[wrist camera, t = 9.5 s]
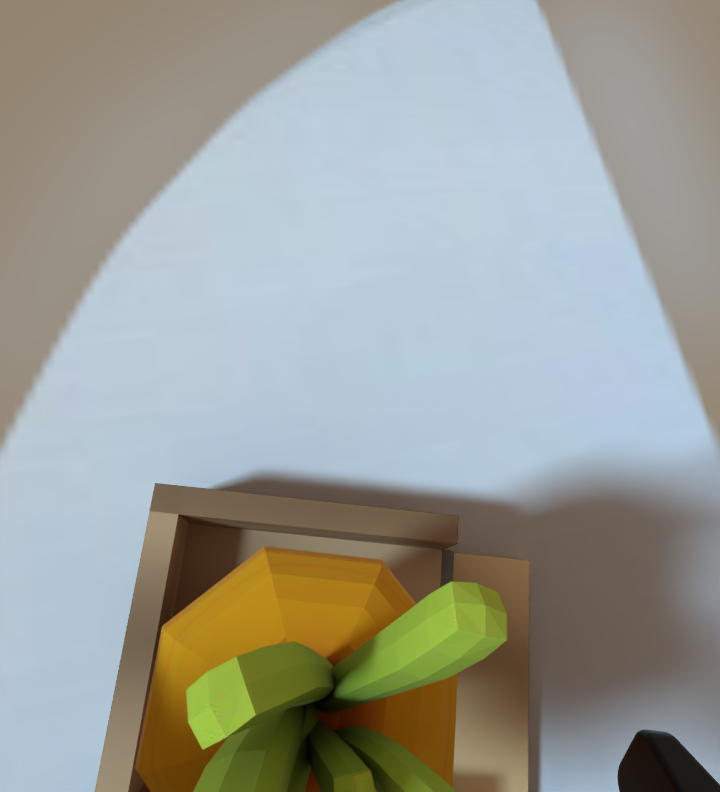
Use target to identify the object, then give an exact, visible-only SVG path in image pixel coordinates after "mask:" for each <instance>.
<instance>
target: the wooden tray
mask: <svg viewBox="0 0 720 792" xmlns="http://www.w3.org/2000/svg"><path fill="white" fill-rule="evenodd" d="M457 537H458V516H455V515H446V514H436V513H427V512H418V511H409V510H399V509H390V508H381V507H372V506H362V505H353V504H344V503H335V502H325V501H316V500H307V499H297V498H288V497H279V496H270V495H260V494H251V493H242V492H233V491H223V490H214V489H205V488H195V487H186V486H177V485H168V484H158V483H155V487H154V492H153V497H152V502H151V507H150V512H149V517H148V522H147V528H146V533H145V538H144V543H143V548H142V553H141V558H140V563H139V568H138V574H137V579H136V584H135V589H134V594H133V599H132V604H131V609H130V614H129V619H128V625H127V630H126V635H125V640H124V645H123V650H122V655H121V660H120V665H119V671H118V676H117V681H116V686H115V691H114V696H113V701H112V706H111V711H110V716H109V722H108V727H107V732H106V737H105V742H104V747H103V752H102V757H101V762H100V768H99V773H98V778H97V783H96V788H95V792H151V791H150V790H149V788H148V787H147V785H146V784H145V782H144V781H143V779H142V778H141V776H140V775H139V773H138V772H137V770H136V769H135V765H136V760H137V755H138V750H139V744H140V739H141V734H142V729H143V723H144V718H145V713H146V708H147V702H148V697H149V692H150V687H151V681H152V676H153V671H154V666H155V660H156V655H157V650H158V645H159V639H160V634H161V629H162V626H163V625H164V624H165V623H167V622H168V621H169V620H171V619H172V618H173V617H174V616H176V615H177V614H178V613H179V612H181V611H182V610H183V609H185V608H186V607H187V606H188V605H190V604H191V603H192V602H194V601H195V600H196V599H197V598H199V597H200V596H201V595H202V594H204V593H205V592H206V591H208V590H209V589H210V588H211V587H213V586H214V585H215V584H217V583H218V582H219V581H220V580H222V579H223V578H224V577H225V576H227V575H228V574H229V573H231V572H232V571H233V570H234V569H236V568H237V567H238V566H240V565H241V564H242V563H243V562H245V561H246V560H247V559H248V558H250V557H251V556H252V555H254V554H255V553H256V552H257V551H259V550H260V549H261V548H263V547H264V546H268V547H277V548H285V549H294V550H303V551H311V552H320V553H328V554H337V555H346V556H354V557H363V558H371V559H380V560H382V561H383V562H384V563H385V564H386V566H387V567H388V568H389V569H390V571H391V572H392V573H393V575H394V576H395V577H396V578H397V580H398V581H399V582H400V583H401V585H402V586H403V587H404V589H405V590H406V591H407V592H408V594H409V595H410V596H411V597H412V599H413V600H414V601H415V603H416V604H417V603H419V602H420V601H421V600H422V599H424V598H425V597H426V596H427V595H429V594H431V593H432V592H434V591H436V590H437V589H439V588H441V587H442V586H444V585H446V584H447V583H449V582H451V581H455V582H470V583H478V584H480V585H483V586H485V587H487V588H490V589H492V590H494V591H497V592H498V594H499V596H500V599H501V601H502V604H503V606H504V609H505V611H506V613H507V641H505V642H504V643H503V644H502V645H500V646H499V647H498V648H497V649H496V650H494V651H493V652H492V653H491V654H489V655H488V656H487V657H486V658H484V659H483V660H481V661H479V662H477V663H475V664H473V665H472V666H470V667H468V668H466V669H464V670H462V671H460V672H458V685H457V705H456V725H455V745H454V766H453V786H452V788H454V789H455V790H456V791H457V792H528V718H529V560H521V559H512V558H502V557H492V556H483V555H473V554H463V553H454V552H452V551H447V550H443V549H445V548H448V547H450V546H453V545H455V544H457Z"/></svg>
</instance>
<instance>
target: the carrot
mask: <svg viewBox="0 0 720 792" xmlns="http://www.w3.org/2000/svg"><path fill="white" fill-rule="evenodd" d="M505 641H507V613H506V611H505V609H504V606H503V604H502V601H501V599H500V596H499V594H498V592H497V591H494V590H492V589H490V588H487V587H485V586H483V585H480V584H478V583H470V582H455V581H451V582H449V583H447V584H446V585H444V586H442V587H441V588H439V589H437V590H436V591H434V592H432V593H431V594H429V595H427V596H426V597H425V598H424V599H422V600H421V601H420V602H419V603H417V604H416V603H415V601H414V600H413V599H412V597H411V596H410V595H409V594H408V592H407V591H406V590H405V589H404V587H403V586H402V585H401V583H400V582H399V581H398V580H397V578H396V577H395V576H394V575H393V573H392V572H391V571H390V569H389V568H388V567H387V566H386V564H385V563H384V562H383V561H382V560H380V559H371V558H363V557H354V556H346V555H337V554H328V553H320V552H311V551H303V550H294V549H285V548H277V547H268V546H264V547H263V548H261V549H260V550H259V551H257V552H256V553H255V554H254V555H252V556H251V557H250V558H248V559H247V560H246V561H245V562H243V563H242V564H241V565H240V566H238V567H237V568H236V569H234V570H233V571H232V572H231V573H229V574H228V575H227V576H225V577H224V578H223V579H222V580H220V581H219V582H218V583H217V584H215V585H214V586H213V587H211V588H210V589H209V590H208V591H206V592H205V593H204V594H202V595H201V596H200V597H199V598H197V599H196V600H195V601H194V602H192V603H191V604H190V605H188V606H187V607H186V608H185V609H183V610H182V611H181V612H179V613H178V614H177V615H176V616H174V617H173V618H172V619H171V620H169V621H168V622H167V623H165V624H164V625H163V626H162V629H161V634H160V639H159V645H158V650H157V655H156V660H155V666H154V671H153V676H152V681H151V687H150V692H149V697H148V702H147V708H146V713H145V718H144V723H143V729H142V734H141V739H140V744H139V750H138V755H137V760H136V765H135V769H136V770H137V772H138V773H139V775H140V776H141V778H142V779H143V781H144V782H145V784H146V785H147V787H148V788H149V790H150V791H151V792H457V791H456V790H455V789H454V788H452V786H453V766H454V745H455V725H456V705H457V685H458V672H460V671H462V670H464V669H466V668H468V667H470V666H472V665H473V664H475V663H477V662H479V661H481V660H483V659H484V658H486V657H487V656H488V655H489V654H491V653H492V652H493V651H494V650H496V649H497V648H498V647H499V646H500V645H502V644H503V643H504V642H505Z"/></svg>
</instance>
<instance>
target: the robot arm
mask: <svg viewBox="0 0 720 792" xmlns="http://www.w3.org/2000/svg"><path fill="white" fill-rule="evenodd" d="M618 785H619V791H620V792H720V785H719V783H718V782H717V781H716V780H715V779H714V778H713V777H712V776H711V775H710V774H709V773H708V772H707V771H706V770H705V769H704V768H703V766H702V765H701V764H700V763H699V762H698V761H697V760H696V759H695V758H694V757H693V756H692V755H691V754H690V753H689V752H688V751H687V750H686V748H685V747H684V746H683V745H682V744H681V743H680V742H679V741H678V740H677V739H676V738H675V737H674V736H672V735H671V734H669V733H666V732H661V731H653V730H641V731H639V732H637V734H636V735H635V737H634V739H633V741H632V742H631V744H630V746H629V748H628V750H627V752H626V754H625V756H624V757H623V759H622V761H621V763H620V766H619V770H618Z"/></svg>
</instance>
